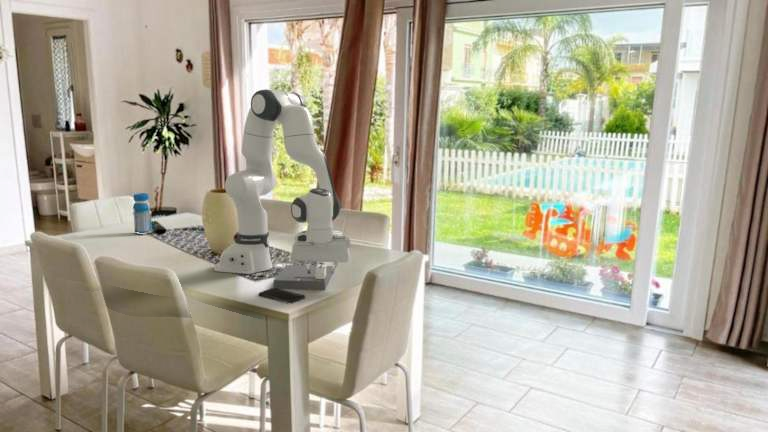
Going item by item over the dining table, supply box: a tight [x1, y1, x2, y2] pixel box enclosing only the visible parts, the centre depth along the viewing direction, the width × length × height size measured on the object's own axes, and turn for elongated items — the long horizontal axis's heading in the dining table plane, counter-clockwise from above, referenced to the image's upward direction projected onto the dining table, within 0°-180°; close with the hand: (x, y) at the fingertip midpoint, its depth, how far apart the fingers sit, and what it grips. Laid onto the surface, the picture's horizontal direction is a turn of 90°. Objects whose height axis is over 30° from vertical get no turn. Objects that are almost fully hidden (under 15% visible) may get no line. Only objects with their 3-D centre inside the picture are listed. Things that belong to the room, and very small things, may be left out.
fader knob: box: [316, 263, 327, 279], centre depth 203 cm, size 3×5×4 cm, turn 177°
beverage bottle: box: [132, 192, 153, 233], centre depth 286 cm, size 8×8×20 cm
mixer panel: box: [273, 264, 334, 291], centre depth 210 cm, size 18×20×3 cm
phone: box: [258, 287, 306, 304], centre depth 192 cm, size 8×1×15 cm
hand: (320, 273), depth 203 cm, fingers open, 7 cm apart
